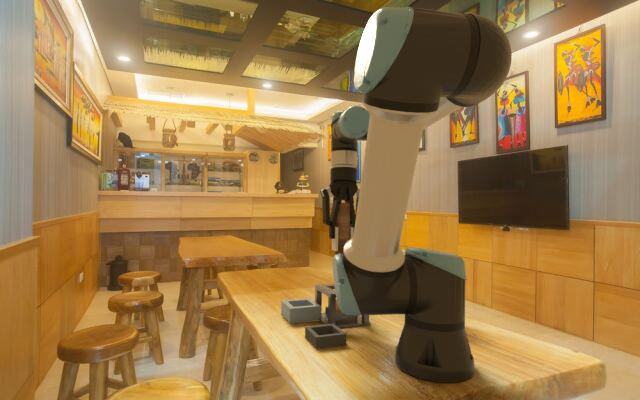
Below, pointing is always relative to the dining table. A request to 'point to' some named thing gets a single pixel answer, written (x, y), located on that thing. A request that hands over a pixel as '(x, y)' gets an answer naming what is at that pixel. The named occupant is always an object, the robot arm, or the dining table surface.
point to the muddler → (343, 226)
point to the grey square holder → (300, 310)
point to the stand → (325, 336)
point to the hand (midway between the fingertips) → (342, 250)
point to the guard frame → (330, 310)
